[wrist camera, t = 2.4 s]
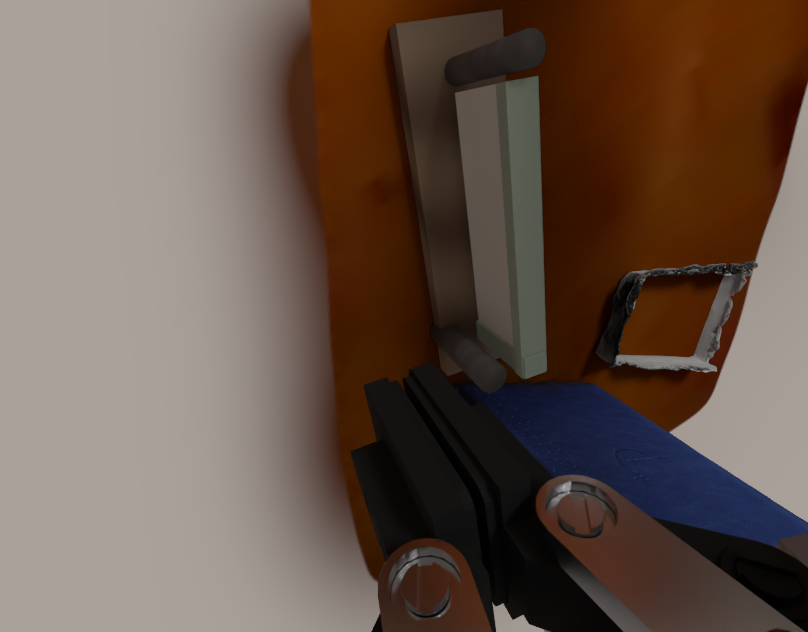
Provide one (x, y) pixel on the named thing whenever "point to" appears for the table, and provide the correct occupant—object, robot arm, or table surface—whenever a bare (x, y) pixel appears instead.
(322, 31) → the table surface
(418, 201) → the gate frame
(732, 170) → the table surface
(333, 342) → the table surface
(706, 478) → the book
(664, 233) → the table surface
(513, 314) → the panel
